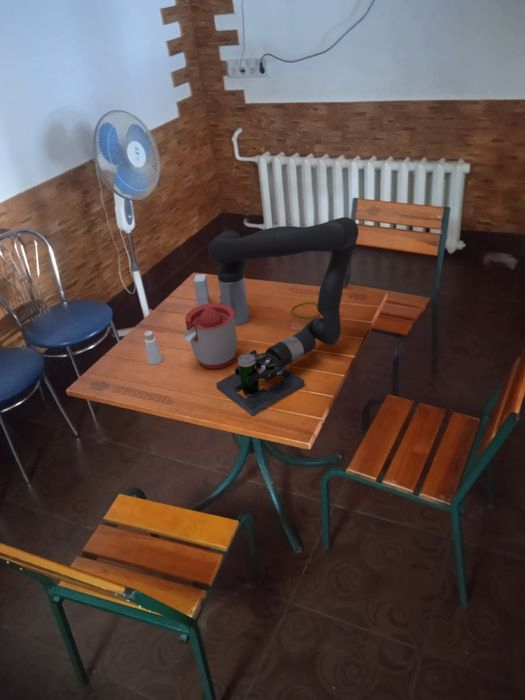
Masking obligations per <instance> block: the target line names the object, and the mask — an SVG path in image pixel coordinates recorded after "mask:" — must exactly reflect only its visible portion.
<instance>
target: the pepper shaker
mask: <svg viewBox="0 0 525 700" xmlns="http://www.w3.org/2000/svg"><path fill="white" fill-rule="evenodd" d="M143 335H144V337H145V339H144V344H145V345H144V346H145V352H146V353H145V354H146V361H147V363H148V364H149V365H152V366H153V365H158V364H161V362H162V361H164V358H163V356H162V355H163V354H162V352H161V349H160V347H159V344H158V342H157V339H156V337H155V336H154V332H153V331H152V330H147V331H145V332H144V334H143Z"/></svg>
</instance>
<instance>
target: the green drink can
mask: <svg viewBox="0 0 525 700" xmlns="http://www.w3.org/2000/svg"><path fill="white" fill-rule="evenodd" d="M237 367H239V374H240V380H241V387H242V389H241V392H242V393H243V394H244V395H245V396H246V397H248V396H250V395H252V394H253V393H255V392H257V391H259V390H261V387H260V379H259V380H257V381H255V382H254V383H251V384H248V383H247V377H248V376H250V375H252V374H254V373H256V372H257V364H256V359H255V356H254V355H252V354H249V353H244V354H241V355H239V357H238V359H237ZM257 373H258V372H257Z"/></svg>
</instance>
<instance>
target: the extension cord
mask: <svg viewBox="0 0 525 700" xmlns="http://www.w3.org/2000/svg"><path fill="white" fill-rule="evenodd" d="M309 304H310V305H316V306H317V304H318V303H316V302H311V301H310V302H303V303H298V304H295V306H293V307H292V308H291V314H292V316H294V317H296V318H298V319H302V320H313V319H315V318H319V316H321V314H320V313H318V314H316V315H313V316H308V317H307V316H301V315H298V314H295V313H294V310H295V309H296V308H298V307H300V306H304V305H309ZM297 306H298V307H297Z"/></svg>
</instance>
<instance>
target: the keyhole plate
mask: <svg viewBox="0 0 525 700" xmlns="http://www.w3.org/2000/svg"><path fill="white" fill-rule="evenodd" d="M259 370H260V369H259V368H258V369H257V372H258V371H259ZM282 371H283V375H282V376H281V377H282V378H283V380H281V381H279V382H277V383H276V384H273V385H272V386H270V387H268V388H265V387H262V388H260V389H259V391H257V392H255V393H253V394H252V395H250V396H246V397H244V396H243V395H242V394H240V393H239V391H242V387H241V380H240V374H239V375H236V374H235V372H234V373H233V374H231V375H229V376H226V377H225V378H223V379H221V380H220V381H217V382H215V385H216V389H217V390H219V391H220V392H221V393H222V394H224V395H225V396H226V397H228V398H229V399H230V401H233V402H234V403H235V404H237V405H238V406H239V407H240V408H242V410H245V412H247V413H248V414H249V415H250V416H252V417H254V416H255V415H257V414H259V413H260V412H262V411H263V410H265V409H268V408H269V407H271V406H272V405H274V404H275V403H277V402H278V401H280V400H282V399H284V398H286V397H287V396H288V395H291V394H292V393H294V392H296V391H297V390H299V389H301V388H302V387H304V386H305V379H304V378H302V377H301V376H299V375H297V374H296V373H294V372H292V371H291V370H289V369H288V368H286V367H284V368H282Z"/></svg>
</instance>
